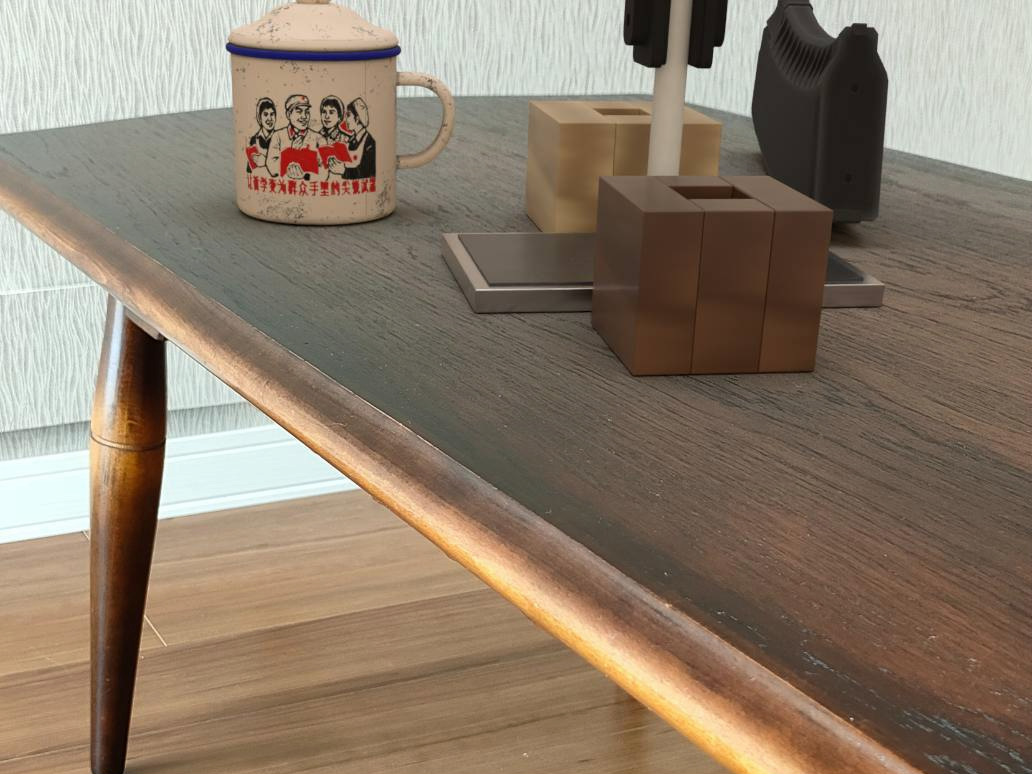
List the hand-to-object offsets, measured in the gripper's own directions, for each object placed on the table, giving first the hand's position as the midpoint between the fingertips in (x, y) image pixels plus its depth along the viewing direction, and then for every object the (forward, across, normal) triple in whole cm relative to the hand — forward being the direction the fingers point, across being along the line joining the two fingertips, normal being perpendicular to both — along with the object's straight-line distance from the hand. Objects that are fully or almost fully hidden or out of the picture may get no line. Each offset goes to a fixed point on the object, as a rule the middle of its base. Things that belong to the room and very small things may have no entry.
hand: (671, 62), depth 63 cm
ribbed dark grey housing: (+10, +15, +21) cm, 28 cm away
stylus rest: (+10, -1, -11) cm, 15 cm away
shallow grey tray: (+10, 0, 0) cm, 10 cm away
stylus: (+8, 0, 0) cm, 8 cm away
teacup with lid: (+10, -13, +16) cm, 23 cm away
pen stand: (+10, +1, +11) cm, 15 cm away
